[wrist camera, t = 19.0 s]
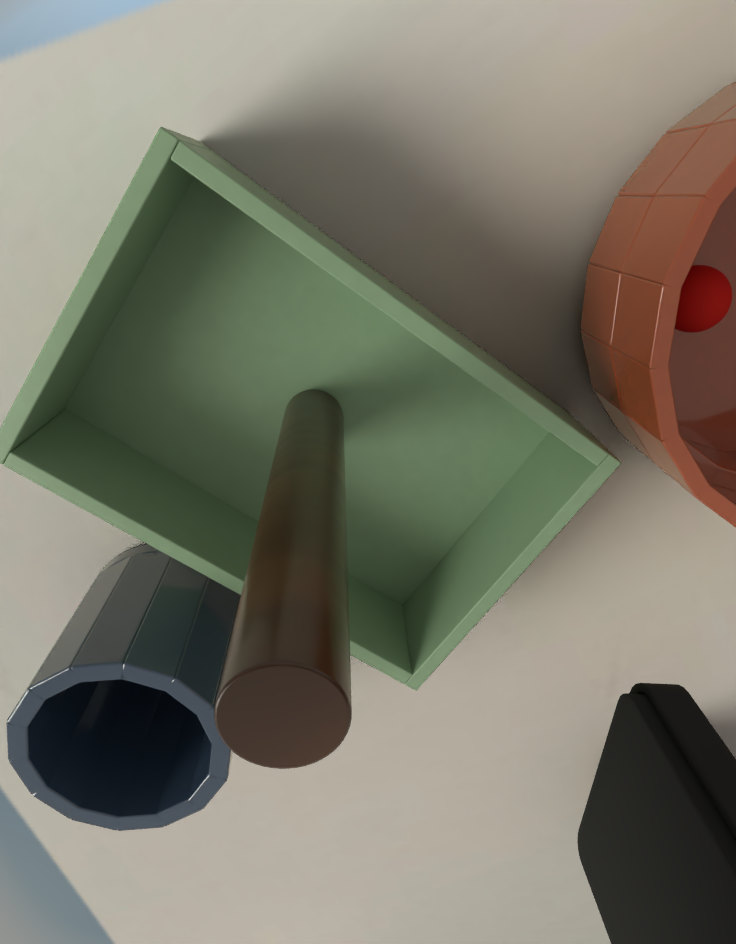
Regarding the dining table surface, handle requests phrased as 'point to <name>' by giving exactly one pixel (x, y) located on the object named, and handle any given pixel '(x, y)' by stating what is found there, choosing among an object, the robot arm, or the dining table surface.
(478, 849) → the dining table surface
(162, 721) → the holder
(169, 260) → the tray
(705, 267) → the berry
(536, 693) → the dining table surface
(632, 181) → the bowl
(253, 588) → the stick
